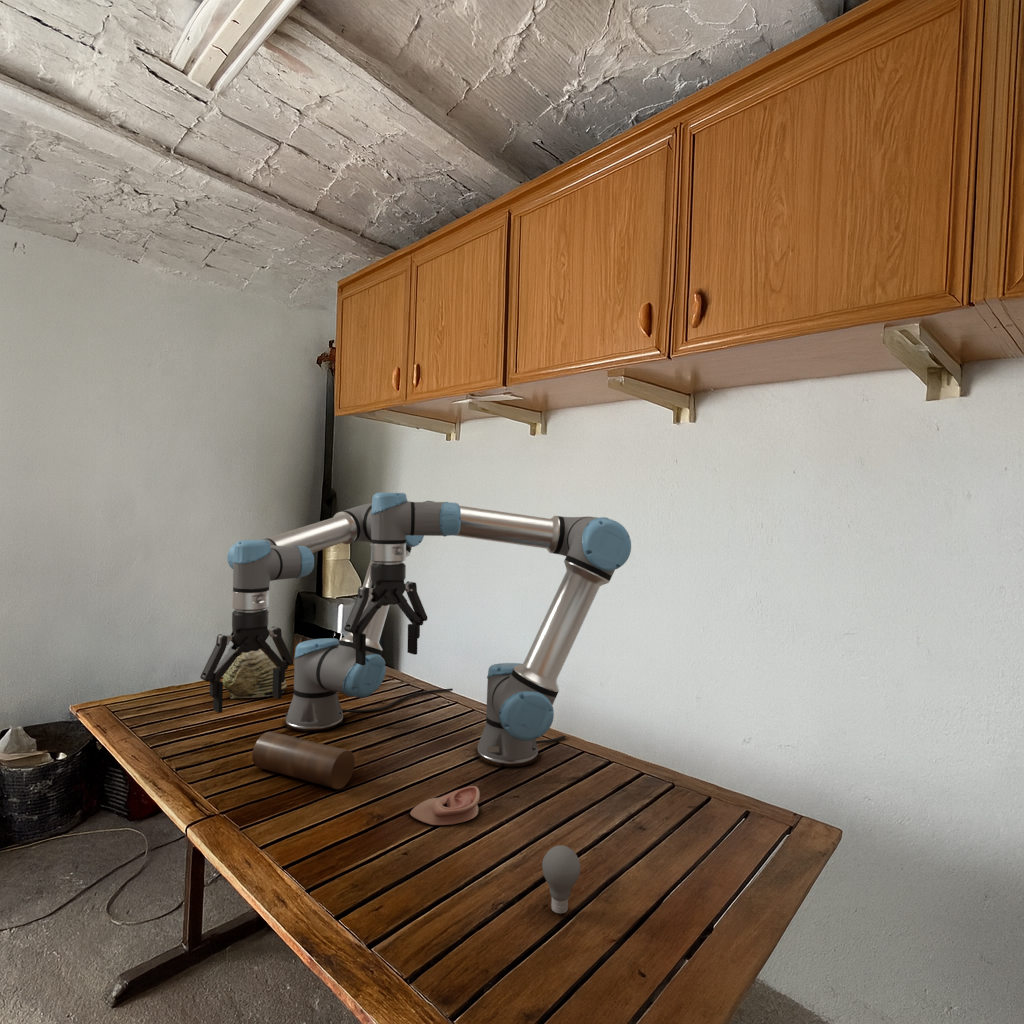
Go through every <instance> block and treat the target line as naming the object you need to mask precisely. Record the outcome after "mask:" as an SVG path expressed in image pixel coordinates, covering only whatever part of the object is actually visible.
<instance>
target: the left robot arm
mask: <svg viewBox="0 0 1024 1024" xmlns="http://www.w3.org/2000/svg"><path fill="white" fill-rule="evenodd" d="M371 512H372V502H371V503H370V502H369V503H365V504H361V505H358V506H354V507H351V508H348V509H344V510H341V511H338V512H336V513H335V514H334V515H333V516H332V517H330V518H328V519H324V520H320V521H317V522H315V523H312V524H308V525H304V526H301V527H298V528H295V529H292V530H289V531H285V532H282V533H277V534H276V535H272V536H269V537H266V538H262V539H242V540H241V539H240V540H238V541H236V542H235V543H234V544H233V545H231V546H230V548H229V549H228V551H227V554H226V555H227V557H226V559H227V563H228V565H229V567H230V568H231V570H232V603H231V604H232V607H231V608H232V609H233V611H232V613H231V629H232V630H231V633H230V634H221V633H218V634H217V636H216V640H215V646H214V648H213V649H212V652H211V654H210V656H209V658H208V660H207V662H206V664H205V666H204V668H203V670H202V672H201V674H200V679H201V680H202V681H205V682H206V683H209V696H210V697H211V698H212V700H213V701H212V702H213V703H212V711H214V712H216V713H217V714H220V713H221V714H222V713H223V704H224V703H223V702H224V701H223V699H224V697H223V696H224V694H223V693H224V685H223V680H222V679H223V677H224V676H223V675H224V674H225V673H226V671H227V670H228V669H229V667H230V666H231V665H232V663H233V662H234V661H235V659H236V658H237V657H238V656H240V655H241V653H242V652H244V653H247V652H250V651H258V650H259V649H261V650H262V651H263V652H264V653H265V654H266V655H267V657H268V658H269V659H270V660H271V661H272V662H273V663H274V664H275V665H276V668H273V690H272V697H273V698H275V699H277V700H279V699H282V693H281V691H282V683H283V682H284V681H285V680H286V670H287V671H288V669H289V666H292V665H294V667H293V695H292V696H293V697H292V699H291V702H290V704H289V708H288V711H287V712H285V726H286V728H287V729H289V730H291V731H294V732H295V731H296V732H301V733H316V732H325V731H329V730H332V729H335V728H337V727H339V726H340V725H342V723H343V722H344V714H343V713H351V714H352V713H355V714H357V713H358V714H359V713H371V712H377V711H383V710H385V709H388V708H390V707H392V706H394V705H395V704H397V703H400V702H402V701H404V700H407V699H409V698H412V697H415V696H419V695H425V694H431V693H439V692H440V693H441V692H453V691H454V690H453V689H454V688H439V689H438V688H437V689H431V690H423V691H419V692H415V693H411V694H408V695H405V696H403V697H401V698H398V699H396V700H394V701H392V702H390V703H389V704H387V705H384V706H381V707H375V708H369V709H367V708H366V709H347V708H342V706H341V702H340V699H339V695H338V694H342V695H345V696H347V697H352V698H360V699H361V698H367V697H370V696H372V694H373V693H375V692H376V691H377V690H378V689H379V688H380V687H381V685H382V683H383V681H384V679H385V677H386V676H385V675H386V672H387V666H386V661H385V659H384V657H382V653H383V647H382V645H381V644H380V641H381V637H382V633H383V630H384V626H385V622H386V619H387V615H388V612H389V608H390V606H391V604H390V605H388V606H383V605H382V607H381V608H380V609H378V610H377V612H376V613H375V615H374V616H373V618H372V619H371V621H370V622H369V624H368V625H367V627H366V628H365V630H364V631H363V634H366V665H360V664H357V663H356V649H353V634H352V633H351V632H348V633H347V634H346V635H345V636H344V637H342V638H340V640H339V639H338V638H335V637H333V638H332V637H329V638H313V639H308V640H304V641H302V642H299V643H298V644H297V645H296V646H295V652H294V653H295V654H294V657H292V656H291V653H290V651H289V649H288V647H287V645H286V642H285V641H284V638H283V636H282V629H281V627H279V626H278V627H277V626H275V625H274V626H271V628H268V627H269V613H270V612H269V610H268V608H269V607H270V583H271V582H273V581H281V580H288V579H299V578H302V577H303V578H304V577H306V576H307V577H308V575H310V574H311V573H312V571H313V570H314V568H315V555H314V553H316V552H319V551H323V550H325V549H329V548H331V547H333V546H337V545H340V544H344V545H350V544H353V543H359V542H360V543H361V542H364V543H365V542H366V543H369V546H370V547H371V540H372V539H371ZM424 537H425V536H423V535H413V536H410V535H407V536H406V558H408V557H409V556H410V555H411V551H412V549H413V548H414V547H417V546H419V545H420V544H421V543H422V541H423V540H424ZM373 563H374V562H373V561H372V560H371V559H370V561H369V564H368V567H367V571H366V574H365V577H364V581H363V584H362V587H368V588H371V585H372V580H371V565H372V564H373ZM371 598H372V594H371V596H369V597H368V601H367V604H366V606H365V608H364V610H365V609H366V607H367V606H368V602H369V601H370V599H371ZM363 612H364V611H363ZM269 637H270V638H271V639H272V641H273V643H274V645H275V647H276V649H277V652H278V654H279V656H278V654H277V653H276V652H275V651H274V650H273V649H272V647H271V646H270V645H269V643H268V642H267V639H268V638H269ZM230 642H231V643H232V644H231V646H230V647H229V648H228V650H227V651H228V652H227V653H226V654H225V655H224V653H225V651H226V648H227V647H228V645H229V644H230ZM236 649H237V650H236ZM223 655H224V657H223ZM293 659H294V660H293ZM221 680H222V681H221Z"/></svg>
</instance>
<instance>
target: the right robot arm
mask: <svg viewBox="0 0 1024 1024" xmlns="http://www.w3.org/2000/svg"><path fill="white" fill-rule="evenodd" d="M371 498H372V499H371V503H372V512H371V539H372V540H371V546H370V560H372V561H373V562H374V563H373V564H372V565H371V580H372V585H371V588H368V587H363V585H360V586H358V589H357V597H356V599H355V601H354V604H353V605H352V608H351V611H350V613H349V615H348V617H347V620H346V622H345V624H344V627H343V630H344V631H345V632H348V633H349V632H351V633H352V634H353V649H356V663H357V664H360V665H366V634H363V631H364V630H365V628H366V627H367V625H368V624H369V622H370V621H371V619H372V618H373V616H374V615H375V613H376V612H377V610H378V609H380V608H381V607H382V605H383V606H388V605H390V606H391V605H393V606H394V605H395V606H396V605H397V606H398V608H399V609H400V610H401V611H402V613H403V614H404V615H405V616H406V618H407V619H408V620H409V622H410V623H408V624H407V651H406V652H407V654H410V655H418V639H420V636H421V626H423V625H424V622H427V621H428V615H427V612H426V610H425V608H424V605H423V603H422V600H421V598H420V596H419V593H418V588H417V587H418V586H417V582H414V581H406V582H405V580H406V575H407V574H406V571H407V570H406V569H407V568H406V567H407V566H406V563H404V562H405V561H406V560H407V559H406V558H407V557H406V536H407V535H410V536H413V535H423V536H424V537H425V536H426V537H427V536H429V537H431V536H433V537H448V536H453V537H460V538H469V539H475V540H482V541H489V542H495V543H496V542H497V543H504V544H510V545H517V546H525V547H531V548H538V549H539V548H540V549H546V550H547V552H548V553H549V554H554V555H558V556H562V557H563V556H564V557H565V558H564V560H563V563H564V566H565V569H566V572H565V574H564V576H563V577H562V580H561V582H560V584H559V586H558V588H557V591H556V593H555V595H554V597H553V599H552V600H551V603H550V605H549V608H548V609H547V612H546V613H545V616H544V618H543V620H542V623H541V624H540V627H539V629H538V631H537V633H536V636H535V637H534V640H533V642H532V643H531V646H530V648H529V651H528V652H527V655H526V656H525V659H524V661H523V663H519V662H499V663H494V664H491V665H490V666H489V667H488V671H487V676H486V678H487V686H486V687H487V689H486V711H485V712H486V713H485V716H486V717H485V725H484V728H483V731H482V733H481V736H480V738H479V741H478V744H477V750H476V751H477V752H476V753H477V757H478V759H479V760H481V761H482V762H484V763H486V764H489V765H490V766H491V765H492V766H494V767H500V768H501V767H502V768H519V767H524V766H525V767H526V766H528V765H531V764H533V763H534V762H536V761H537V759H538V757H539V755H538V754H539V749H538V744H546V743H547V744H548V743H553V742H557V741H561V740H564V739H566V736H565V735H561V736H558V737H555V738H551V739H540V740H536V739H539V738H541V737H543V736H544V735H545V734H546V733H547V732H548V731H549V730H550V728H551V727H552V725H553V722H554V716H555V712H554V711H555V710H554V706H553V705H554V703H555V701H556V698H557V696H558V694H559V692H560V687H559V684H558V678H559V676H560V674H561V671H562V670H563V667H564V666H565V663H566V661H567V659H568V657H569V655H570V652H571V650H572V648H573V646H574V644H575V641H576V640H577V637H578V635H579V633H580V631H581V628H582V626H583V624H584V622H585V620H586V618H587V615H588V613H589V611H590V609H591V607H592V605H593V602H594V600H595V599H596V596H597V593H598V591H599V590H600V587H602V586H605V585H607V584H609V583H610V582H611V580H612V577H613V575H614V574H615V571H616V570H618V569H619V568H621V567H622V566H623V565H625V564H626V562H627V561H628V559H629V558H630V555H631V552H632V540H631V537H630V533H629V532H628V530H627V529H626V527H625V526H624V525H623V524H621V523H620V522H619V521H616V520H615V519H612V518H608V517H604V516H603V517H602V516H600V517H596V516H561V515H553V516H552V517H550V518H547V517H539V516H535V515H534V516H533V515H526V514H520V513H519V514H518V513H512V512H506V511H499V510H492V509H487V508H478V507H472V506H465V505H459V503H457V502H449V501H433V500H426V501H411V500H409V501H408V498H407V494H406V493H405V492H376V493H374V494H373V495H372V497H371ZM405 592H406V595H407V597H408V600H409V602H410V604H411V605H410V604H409V603H408V600H407V598H406V597H405V595H403V594H404V593H405ZM371 594H372V598H371V599H370V601H369V602H368V606H367V607H366V609H365V610H364V608H365V606H366V604H367V601H368V597H369V596H371ZM363 611H364V612H363Z"/></svg>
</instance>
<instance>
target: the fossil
mask: <svg viewBox="0 0 1024 1024" xmlns="http://www.w3.org/2000/svg"><path fill="white" fill-rule="evenodd" d="M236 650H237V649H236ZM273 668H277V666H276V665H275V664H274V663H273V662H272V661H271V660H270V659H269V658H268V657H267V655H266V654H265V653H264V652H263V651H262V650H261V649H259V650H258V651H250V652H247V653H244V652H242V653H241V655H240V656H238V657H237V658H236V659H235V661H234V662H233V663H232V665H231V666H230V667H229V669H228V670H227V671H226V673H225V674H224V675H223V677H222V682H223V688H225V690H226V691H228V693H229V698H230V699H250V698H264V697H271V696H272V690H273ZM287 687H288V686H287V680H286V679H285V681H284V682H283V683H282V691H281V694H284V693H285V691H286V689H287ZM272 697H273V696H272Z"/></svg>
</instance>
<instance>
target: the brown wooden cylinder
mask: <svg viewBox="0 0 1024 1024" xmlns="http://www.w3.org/2000/svg"><path fill="white" fill-rule="evenodd" d="M251 756H252V757H251V759H252V763H253V765H254V766H255V767H256V768H259V769H262V770H266V771H269V772H273V773H276V774H281V775H284V776H287V777H291V778H295V779H298V780H301V781H305V782H309V783H312V784H316V785H320V786H324V787H326V788H330V789H333V790H334V789H335V790H341V789H344V788H345V786H346V785H348V783H349V781H350V780H351V778H352V776H353V773H354V771H355V765H356V763H355V761H356V760H355V756H354V753H353V752H352V751H351V750H348V749H345V748H341V747H336V746H333V745H328V744H324V743H322V742H317V741H312V740H308V739H304V738H300V737H297V736H292V735H289V734H288V735H287V734H284V733H281V732H280V733H279V732H276V731H266V732H264V733H263V734H261V735H260V736H259V738H258V739H257V740H256V742H255V743H254V746H253V749H252V755H251Z"/></svg>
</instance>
